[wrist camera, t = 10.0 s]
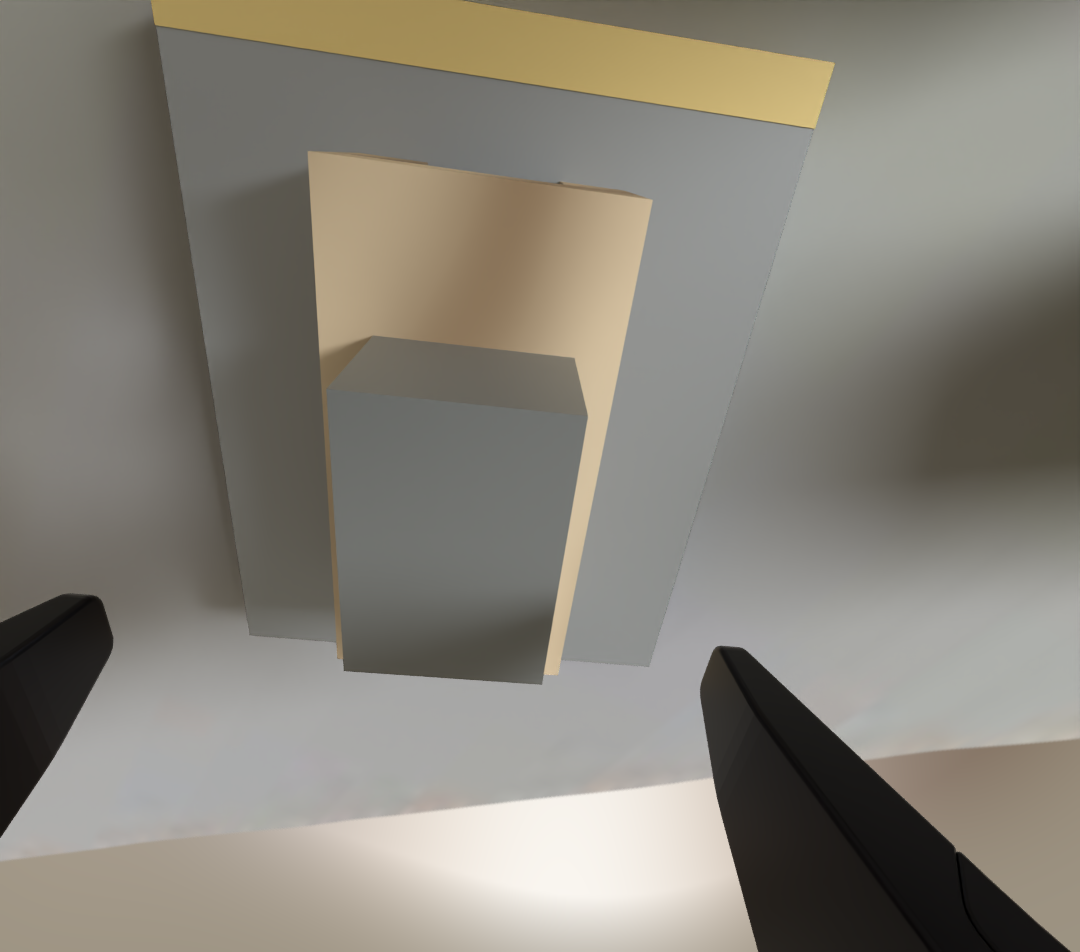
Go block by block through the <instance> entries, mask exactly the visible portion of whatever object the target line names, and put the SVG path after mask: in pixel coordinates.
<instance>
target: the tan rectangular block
mask: <svg viewBox="0 0 1080 952" xmlns="http://www.w3.org/2000/svg"><path fill="white" fill-rule="evenodd" d="M308 168H309V185H310V202H311V219H312V236H313V253H314V270H315V287H316V304H317V321H318V337H319V354H320V371H321V388H322V405H323V422H324V439H325V456H326V473H327V490H328V507H329V524H330V541H331V558H332V575H333V592H334V609H335V626H336V643H337V659H343V648H342V632H341V616H340V600H339V584H338V568H337V553H336V537H335V521H334V505H333V489H332V473H331V457H330V441H329V425H328V409H327V393H326V389H327V388H328V386H329V385H330V384H331V383H332V382H333V381H334V380H335V378H336V377H337V376H338V375H339V374H340V373H341V372H342V370H343V369H344V368H345V367H346V366H347V365H348V364H349V362H350V361H351V360H352V359H353V358H354V357H355V356H356V354H357V353H358V352H359V351H360V350H361V349H362V348H363V346H364V345H365V344H366V343H367V342H368V341H369V340H370V338H371V337H372V336H373V335H374V336H383V337H392V338H401V339H410V340H419V341H428V342H437V343H445V344H454V345H463V346H472V347H481V348H490V349H499V350H508V351H517V352H526V353H535V354H544V355H553V356H562V357H571V358H575V362H576V367H577V371H578V375H579V379H580V384H581V388H582V392H583V396H584V401H585V405H586V409H587V414H588V420H587V426H586V431H585V437H584V443H583V449H582V455H581V460H580V466H579V472H578V478H577V484H576V489H575V495H574V501H573V507H572V513H571V518H570V524H569V530H568V536H567V542H566V547H565V553H564V559H563V565H562V571H561V576H560V582H559V588H558V594H557V600H556V605H555V611H554V617H553V623H552V629H551V634H550V640H549V646H548V652H547V658H546V663H545V669H544V674H547V675H558V672H559V667H560V662H561V657H562V652H563V647H564V642H565V637H566V632H567V627H568V622H569V617H570V612H571V607H572V602H573V597H574V592H575V587H576V582H577V577H578V572H579V567H580V562H581V557H582V552H583V547H584V542H585V537H586V532H587V527H588V522H589V517H590V512H591V507H592V502H593V497H594V492H595V487H596V482H597V477H598V472H599V467H600V462H601V457H602V452H603V447H604V442H605V437H606V432H607V427H608V422H609V417H610V412H611V407H612V402H613V397H614V392H615V387H616V382H617V377H618V372H619V367H620V362H621V357H622V352H623V347H624V342H625V337H626V332H627V327H628V322H629V317H630V312H631V307H632V302H633V297H634V292H635V287H636V282H637V277H638V272H639V267H640V262H641V257H642V252H643V247H644V242H645V237H646V232H647V227H648V222H649V217H650V212H651V207H652V202H653V200H651V199H648V198H645V197H642V196H639V195H636V194H633V193H630V192H627V191H624V190H617V189H610V188H603V187H596V186H589V185H582V184H575V183H568V182H561V181H560V184H556V183H548V182H541V181H534V180H527V179H520V178H513V177H506V176H499V175H492V174H485V173H478V172H471V171H464V170H457V169H450V168H443V167H436V166H429V165H428V163H427V162H420V161H413V160H406V159H399V158H392V157H385V156H378V155H371V154H364V153H348V152H320V151H308Z"/></svg>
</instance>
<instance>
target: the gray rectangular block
mask: <svg viewBox="0 0 1080 952" xmlns="http://www.w3.org/2000/svg"><path fill="white" fill-rule="evenodd" d="M326 393H327V409H328V425H329V441H330V457H331V473H332V489H333V505H334V521H335V537H336V553H337V568H338V584H339V600H340V616H341V632H342V648H343V664H344V671H352V672H366V673H381V674H395V675H410V676H424V677H439V678H453V679H468V680H482V681H497V682H512V683H526V684H541V685H542V681H543V675H544V669H545V663H546V658H547V652H548V646H549V640H550V634H551V629H552V623H553V617H554V611H555V605H556V600H557V594H558V588H559V582H560V576H561V571H562V565H563V559H564V553H565V547H566V542H567V536H568V530H569V524H570V518H571V513H572V507H573V501H574V495H575V489H576V484H577V478H578V472H579V466H580V460H581V455H582V449H583V443H584V437H585V431H586V426H587V420H588V414H587V409H586V405H585V401H584V396H583V392H582V388H581V384H580V379H579V375H578V371H577V367H576V362H575V358H571V357H562V356H553V355H544V354H535V353H526V352H517V351H508V350H499V349H490V348H481V347H472V346H463V345H454V344H445V343H437V342H428V341H419V340H410V339H401V338H392V337H383V336H374V335H373V336H372V337H371V338H370V340H369V341H368V342H367V343H366V344H365V345H364V346H363V348H362V349H361V350H360V351H359V352H358V353H357V354H356V356H355V357H354V358H353V359H352V360H351V361H350V362H349V364H348V365H347V366H346V367H345V368H344V369H343V370H342V372H341V373H340V374H339V375H338V376H337V377H336V378H335V380H334V381H333V382H332V383H331V384H330V385H329V386H328V388H327V389H326Z"/></svg>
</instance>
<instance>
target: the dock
mask: <svg viewBox="0 0 1080 952" xmlns="http://www.w3.org/2000/svg"><path fill="white" fill-rule="evenodd" d="M151 4H152V11H153V17H154V24H155V25H156V30H157V36H158V43H159V49H160V56H161V62H162V69H163V75H164V82H165V88H166V95H167V101H168V108H169V114H170V121H171V127H172V134H173V140H174V147H175V153H176V160H177V166H178V173H179V179H180V186H181V192H182V199H183V205H184V212H185V218H186V225H187V231H188V238H189V244H190V251H191V257H192V264H193V270H194V277H195V283H196V290H197V296H198V303H199V309H200V316H201V322H202V329H203V335H204V342H205V348H206V355H207V361H208V368H209V374H210V381H211V387H212V394H213V400H214V407H215V413H216V420H217V426H218V433H219V439H220V446H221V452H222V459H223V465H224V472H225V478H226V485H227V491H228V498H229V504H230V511H231V517H232V524H233V530H234V537H235V543H236V550H237V556H238V563H239V569H240V576H241V582H242V589H243V595H244V602H245V608H246V615H247V621H248V628H249V634H250V635H252V636H264V637H277V638H290V639H302V640H315V641H328V642H336V626H335V609H334V592H333V575H332V558H331V541H330V524H329V507H328V490H327V473H326V456H325V439H324V422H323V405H322V388H321V371H320V354H319V337H318V321H317V304H316V287H315V270H314V253H313V236H312V219H311V202H310V185H309V168H308V151H320V152H348V153H364V154H371V155H378V156H385V157H392V158H399V159H406V160H413V161H420V162H427V163H428V165H429V166H436V167H443V168H450V169H457V170H464V171H471V172H478V173H485V174H492V175H499V176H506V177H513V178H520V179H527V180H534V181H541V182H548V183H556V184H560V181H561V182H568V183H575V184H582V185H589V186H596V187H603V188H610V189H617V190H624V191H627V192H630V193H633V194H636V195H639V196H642V197H645V198H648V199H651V200H653V202H652V207H651V212H650V217H649V222H648V227H647V232H646V237H645V242H644V247H643V252H642V257H641V262H640V267H639V272H638V277H637V282H636V287H635V292H634V297H633V302H632V307H631V312H630V317H629V322H628V327H627V332H626V337H625V342H624V347H623V352H622V357H621V362H620V367H619V372H618V377H617V382H616V387H615V392H614V397H613V402H612V407H611V412H610V417H609V422H608V427H607V432H606V437H605V442H604V447H603V452H602V457H601V462H600V467H599V472H598V477H597V482H596V487H595V492H594V497H593V502H592V507H591V512H590V517H589V522H588V527H587V532H586V537H585V542H584V547H583V552H582V557H581V562H580V567H579V572H578V577H577V582H576V587H575V592H574V597H573V602H572V607H571V612H570V617H569V622H568V627H567V632H566V637H565V642H564V647H563V652H562V657H561V660H568V661H581V662H593V663H606V664H619V665H631V666H644V667H649V665H650V662H651V659H652V655H653V652H654V649H655V645H656V642H657V639H658V636H659V632H660V629H661V626H662V623H663V619H664V616H665V613H666V610H667V606H668V603H669V600H670V597H671V593H672V590H673V587H674V584H675V580H676V577H677V574H678V571H679V567H680V564H681V561H682V558H683V554H684V551H685V548H686V545H687V541H688V538H689V535H690V531H691V528H692V525H693V522H694V518H695V515H696V512H697V509H698V505H699V502H700V499H701V496H702V492H703V489H704V486H705V483H706V479H707V476H708V473H709V470H710V466H711V463H712V460H713V457H714V453H715V450H716V447H717V444H718V440H719V437H720V434H721V431H722V427H723V424H724V421H725V417H726V414H727V411H728V408H729V404H730V401H731V398H732V395H733V391H734V388H735V385H736V382H737V378H738V375H739V372H740V369H741V365H742V362H743V359H744V356H745V352H746V349H747V346H748V343H749V339H750V336H751V333H752V330H753V326H754V323H755V320H756V317H757V313H758V310H759V307H760V303H761V300H762V297H763V294H764V290H765V287H766V284H767V281H768V277H769V274H770V271H771V268H772V264H773V261H774V258H775V255H776V251H777V248H778V245H779V242H780V238H781V235H782V232H783V229H784V225H785V222H786V219H787V216H788V212H789V209H790V206H791V203H792V199H793V196H794V193H795V189H796V186H797V183H798V180H799V176H800V173H801V170H802V167H803V163H804V160H805V157H806V154H807V150H808V147H809V144H810V141H811V137H812V134H813V131H814V129H815V127H816V124H817V120H818V117H819V114H820V111H821V107H822V104H823V101H824V98H825V94H826V91H827V88H828V85H829V81H830V78H831V75H832V72H833V68H834V65H835V63H833V62H827V61H821V60H815V59H809V58H803V57H797V56H791V55H785V54H779V53H773V52H767V51H761V50H755V49H749V48H743V47H737V46H731V45H725V44H719V43H713V42H707V41H701V40H695V39H689V38H683V37H677V36H671V35H665V34H659V33H653V32H647V31H641V30H635V29H629V28H623V27H617V26H611V25H605V24H599V23H593V22H587V21H581V20H575V19H569V18H563V17H557V16H551V15H545V14H539V13H533V12H527V11H521V10H515V9H509V8H504V7H498V6H492V5H486V4H480V3H474V2H468V1H462V0H151Z"/></svg>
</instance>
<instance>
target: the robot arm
mask: <svg viewBox="0 0 1080 952" xmlns="http://www.w3.org/2000/svg"><path fill="white" fill-rule="evenodd" d="M112 648H113V635H112V632H111V628H110V625H109V622H108V618H107V615H106V612H105V609H104V605H103V603H102V601H101V600H100V599H99V598H98V597H97V596H94V595H84V594H71V593H70V594H63V595H60V596H57V597H55V598H53V599H51V600H49V601H46V602H44V603H42V604H40V605H38V606H36V607H33V608H31V609H29V610H27V611H25V612H23V613H20V614H18V615H16V616H14V617H12V618H10V619H7V620H5V621H3V622H1V623H0V838H1V836H2V835H3V833H4V832H5V830H6V829H7V827H8V826H9V824H10V823H11V821H12V820H13V818H14V817H15V815H16V814H17V812H18V811H19V809H20V808H21V807H22V805H23V804H24V802H25V801H26V799H27V798H28V796H29V795H30V793H31V792H32V790H33V789H34V787H35V786H36V784H37V783H38V781H39V780H40V778H41V777H42V775H43V774H44V772H45V771H46V769H47V768H48V766H49V764H50V763H51V761H52V760H53V758H54V757H55V755H56V753H57V751H58V750H59V748H60V746H61V745H62V743H63V741H64V739H65V738H66V736H67V734H68V732H69V730H70V728H71V726H72V725H73V723H74V721H75V719H76V717H77V715H78V714H79V712H80V710H81V708H82V706H83V704H84V703H85V701H86V699H87V697H88V695H89V693H90V691H91V690H92V688H93V686H94V684H95V682H96V680H97V679H98V677H99V675H100V673H101V671H102V669H103V667H104V666H105V664H106V662H107V660H108V658H109V656H110V654H111V651H112ZM700 697H701V704H702V710H703V717H704V723H705V729H706V735H707V741H708V748H709V754H710V760H711V766H712V772H713V779H714V784H715V789H716V794H717V799H718V804H719V807H720V811H721V816H722V819H723V823H724V827H725V830H726V834H727V838H728V842H729V845H730V849H731V853H732V856H733V860H734V864H735V867H736V871H737V875H738V878H739V882H740V886H741V890H742V893H743V897H744V901H745V904H746V908H747V912H748V916H749V919H750V923H751V927H752V930H753V934H754V937H755V941H756V945H757V949H758V952H1071V951H1070V950H1068V949H1067V948H1066V947H1065V946H1064V945H1063V944H1061V943H1060V942H1059V941H1058V940H1057V939H1056V938H1055V937H1053V936H1052V935H1051V934H1050V933H1049V932H1048V931H1046V930H1045V929H1044V928H1043V927H1042V926H1041V925H1040V924H1038V923H1037V922H1036V921H1035V920H1034V919H1033V918H1032V917H1031V916H1030V915H1028V914H1027V913H1026V912H1025V911H1024V910H1023V909H1022V908H1021V907H1020V906H1019V905H1017V904H1016V903H1015V902H1014V901H1013V900H1012V899H1011V898H1010V897H1009V896H1008V895H1007V894H1005V893H1004V892H1003V891H1002V890H1001V889H1000V888H999V887H998V886H997V885H996V884H995V883H993V882H992V881H991V880H990V879H989V878H988V877H987V876H986V875H985V874H984V873H983V872H982V871H981V870H979V869H978V868H977V867H976V866H975V865H974V864H973V863H972V862H971V861H970V860H969V859H968V858H967V857H966V856H965V855H963V854H962V853H961V852H956V849H955V847H954V845H953V844H952V843H951V842H949V841H948V840H947V839H946V838H945V837H944V836H943V835H942V834H941V833H940V832H939V831H938V830H937V829H936V828H935V827H934V826H932V825H931V824H930V823H929V822H928V821H927V820H926V819H925V818H924V817H923V816H922V815H921V814H920V813H918V811H917V810H915V809H914V808H913V807H912V806H911V805H910V804H909V803H908V802H907V801H906V800H905V799H904V798H903V797H902V796H900V795H899V794H898V793H897V792H896V791H895V790H894V789H893V788H892V787H891V786H890V785H889V784H888V783H886V782H885V780H884V779H882V778H881V777H880V776H879V775H878V774H877V773H876V772H875V771H874V770H873V769H872V768H871V767H870V766H869V765H868V764H866V763H865V762H864V761H863V760H862V759H861V758H860V757H859V756H858V755H857V754H856V753H855V752H854V751H853V750H852V749H851V748H849V747H848V746H847V745H846V744H845V743H844V742H843V741H842V740H841V739H840V738H839V737H838V736H837V735H836V734H835V733H834V732H832V731H831V730H830V729H829V728H828V727H827V726H826V725H825V724H824V723H823V722H822V721H821V720H820V719H819V718H818V717H817V716H815V715H814V714H813V713H812V712H811V711H810V710H809V709H808V708H807V707H806V706H805V705H804V704H803V703H802V702H801V701H800V700H798V699H797V698H796V697H795V696H794V695H793V694H792V693H791V692H790V691H789V690H788V689H787V688H786V687H785V686H784V685H782V684H781V683H780V682H779V681H778V680H777V679H776V678H775V677H774V676H773V675H772V674H771V673H770V672H769V671H768V670H767V669H765V668H764V667H763V666H762V665H761V664H760V663H759V662H758V661H757V660H756V659H755V658H754V657H753V656H752V655H751V654H750V653H748V652H747V651H746V650H745V649H743V648H740V647H730V646H718V647H716V648H715V649H714V650H713V652H712V655H711V658H710V660H709V663H708V666H707V668H706V671H705V674H704V676H703V679H702V682H701V687H700Z"/></svg>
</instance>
